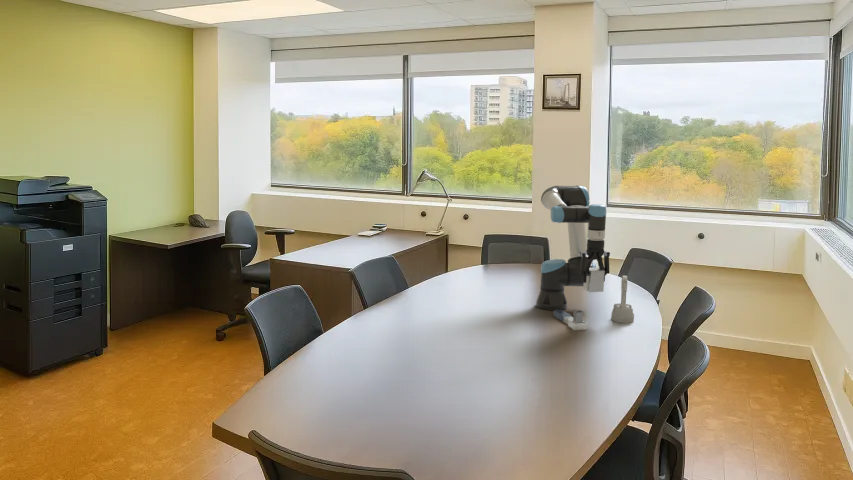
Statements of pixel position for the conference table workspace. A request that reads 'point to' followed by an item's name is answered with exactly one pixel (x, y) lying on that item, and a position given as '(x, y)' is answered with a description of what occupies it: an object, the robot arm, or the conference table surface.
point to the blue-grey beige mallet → (572, 319)
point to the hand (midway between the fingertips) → (593, 289)
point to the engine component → (623, 306)
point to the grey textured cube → (595, 280)
